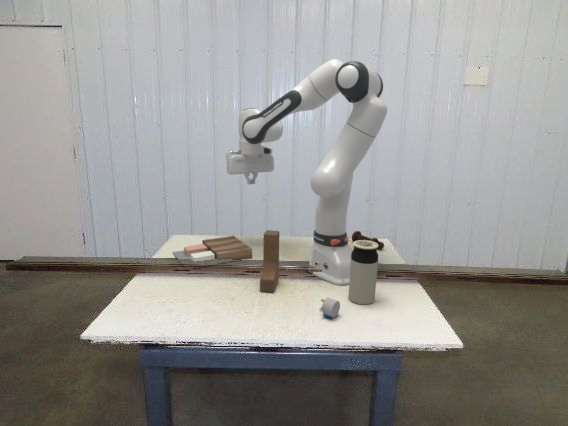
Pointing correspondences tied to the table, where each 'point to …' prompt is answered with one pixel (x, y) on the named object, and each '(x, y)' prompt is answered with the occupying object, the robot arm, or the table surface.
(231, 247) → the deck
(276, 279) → the wooden block
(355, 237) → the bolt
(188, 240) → the table surface
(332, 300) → the electric motor
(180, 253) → the mat
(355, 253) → the travel mug
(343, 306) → the table surface
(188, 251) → the clay tile
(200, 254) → the cream tile
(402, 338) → the table surface
